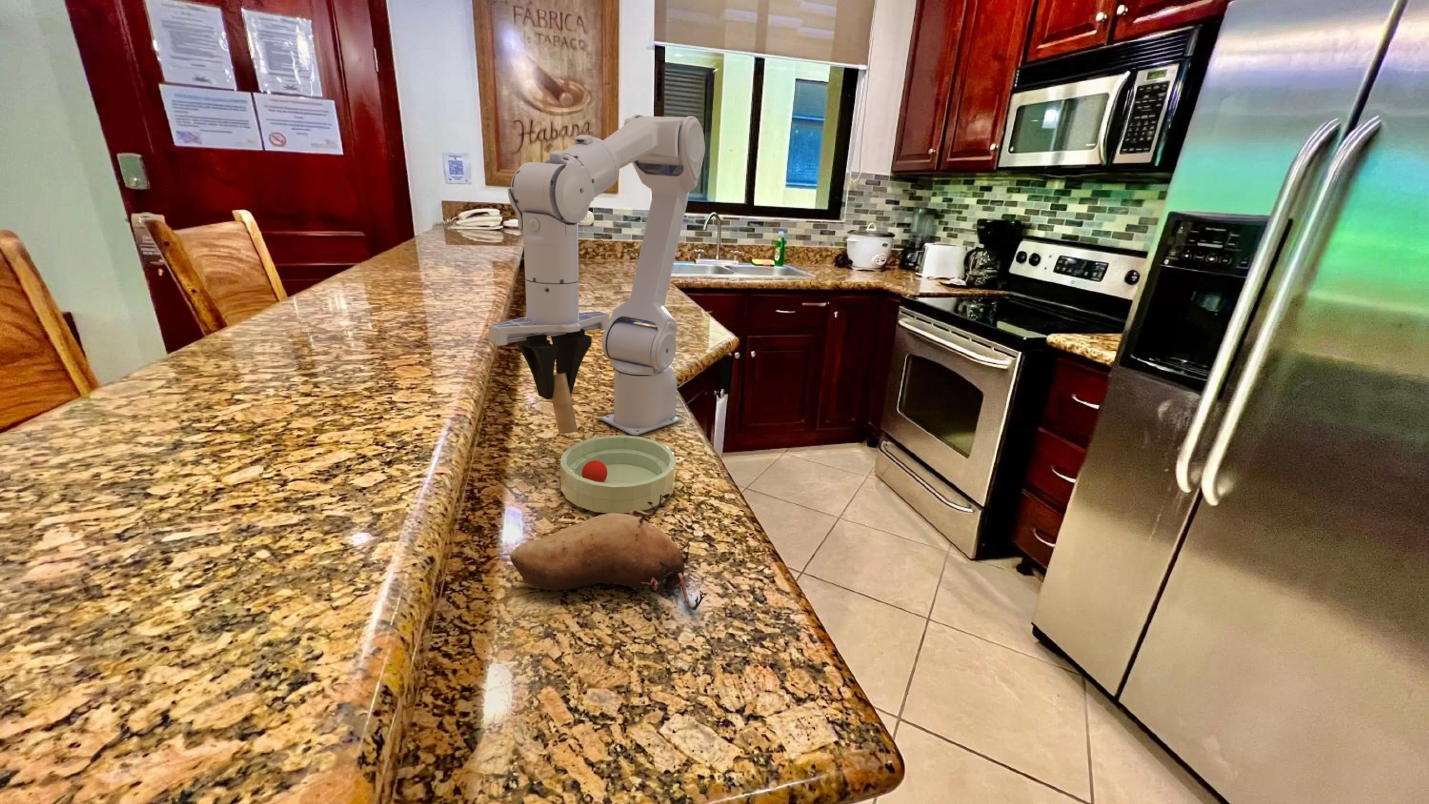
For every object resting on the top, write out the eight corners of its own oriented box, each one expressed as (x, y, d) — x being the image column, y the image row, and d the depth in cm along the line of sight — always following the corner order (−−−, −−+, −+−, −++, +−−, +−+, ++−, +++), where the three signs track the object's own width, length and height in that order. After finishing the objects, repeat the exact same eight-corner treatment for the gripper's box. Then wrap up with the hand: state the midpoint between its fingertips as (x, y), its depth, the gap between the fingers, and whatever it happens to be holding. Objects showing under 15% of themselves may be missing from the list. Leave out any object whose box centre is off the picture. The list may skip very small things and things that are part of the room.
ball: (576, 460, 65) (584, 472, 67) (580, 481, 63) (588, 493, 65) (600, 452, 65) (607, 464, 67) (605, 473, 63) (612, 485, 66)
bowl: (625, 453, 75) (626, 426, 74) (696, 490, 67) (698, 461, 66) (538, 484, 66) (537, 454, 64) (609, 533, 58) (609, 499, 56)
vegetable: (496, 635, 40) (505, 494, 41) (510, 602, 50) (517, 491, 51) (709, 622, 44) (710, 495, 45) (681, 594, 54) (683, 491, 56)
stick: (580, 428, 66) (569, 371, 65) (571, 432, 64) (559, 374, 63) (564, 429, 67) (552, 373, 66) (555, 434, 65) (543, 376, 64)
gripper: (510, 290, 53) (517, 419, 58) (626, 281, 64) (624, 391, 69) (475, 279, 58) (484, 400, 62) (589, 273, 68) (589, 376, 73)
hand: (555, 394), depth 66 cm, fingers closed on stick, 2 cm apart
